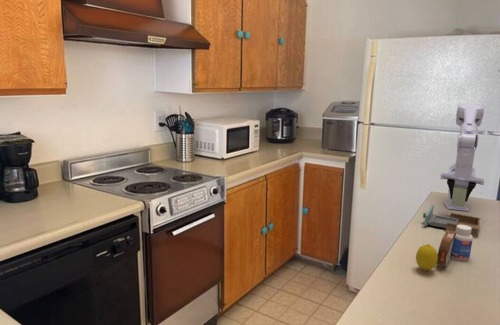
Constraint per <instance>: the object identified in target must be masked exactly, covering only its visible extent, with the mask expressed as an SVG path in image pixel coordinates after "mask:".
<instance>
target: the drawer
mask: <svg viewBox="0 0 500 325" xmlns="http://www.w3.org/2000/svg"><path fill="white" fill-rule="evenodd" d="M434 206H435V204H431V205H430V207H429V208H428V209H427V212H423V214H422V218H424V222H423V225H424V226H425V227H427V226H428V225H429V226H432V227H439V228H442V229H443V228H444V229H446V225H447V223H452V224H457V225H458V222H459V219H456V218H451V217H450V216H446V215H440V214H435V213H434V208H435V207H434Z"/></svg>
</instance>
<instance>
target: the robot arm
mask: <svg viewBox="0 0 500 325" xmlns="http://www.w3.org/2000/svg"><path fill="white" fill-rule="evenodd" d="M484 113H485V105H484V104H481V103H480V104H478V103H477V104H475V103H461V102H459V103H458V104H457V108H456V114H455V115H456V116H455V117H456V118H455V124H456V125H457V126H459V127H460V128H459V129H460V130H459V135H458V136H457V143H456V153H457V154H456V159H455V163H453V164H451V165H449V166H450V167H449V168H448V173H444V172H441V174H440V180H446V184H447V186H448V192H447V198H446V201H443V203H444V204H445V206H446V208H447V210H457V211H465V212H469V211H470V210H469V208H468V206H467V205H468V200H469V197H470V195H471V194H472V192H473V191H474V189H475V188H476V185H477V184H478V185H480V186H484V185H485V178H480V177H476V170H475V168H474V167H473V166H474V160H475V153H476V150H477V148H478V146H479V145H478V144H479V134H478V127H480V126H481V124H482V121H483V117H484ZM455 185H460V186H467V187H468V189H467V195H466V199H465V201H466V202H465V206H464V207H460V206H455V205H451V203H452V196H453V189H454V186H455Z"/></svg>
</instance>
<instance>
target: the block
mask: <svg viewBox="0 0 500 325" xmlns="http://www.w3.org/2000/svg"><path fill="white" fill-rule="evenodd" d="M467 189H468V187H467V186H460V185H455V186H454V189H453V196H452V203H451V205H455V206H460V207H464V206H465V202H466V201H465V199H466V195H467Z"/></svg>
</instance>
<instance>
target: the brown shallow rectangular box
mask: <svg viewBox="0 0 500 325" xmlns="http://www.w3.org/2000/svg"><path fill="white" fill-rule="evenodd" d="M449 217H451V218H456V219H459V222H458V225H466V226H469V227H471V228H472V230H471V233H470V234H471V235H472V237H473V238H475V239H478V235H479V230H480V225H481V224H480V222H481V219H482V218H480V217H475V216H472V215H471V216H470V215H466V214H460V213H456V212H455V213H454V212H450V216H449ZM456 227H457V224H452V223H447V225H446V228H444V231H445V232H446V231H447V229H448V230H450V231H454V232H456Z"/></svg>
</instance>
